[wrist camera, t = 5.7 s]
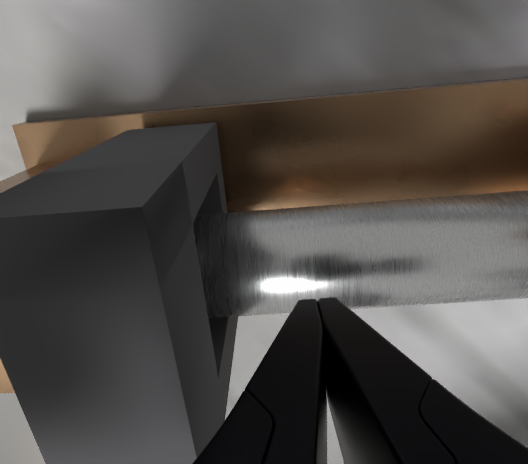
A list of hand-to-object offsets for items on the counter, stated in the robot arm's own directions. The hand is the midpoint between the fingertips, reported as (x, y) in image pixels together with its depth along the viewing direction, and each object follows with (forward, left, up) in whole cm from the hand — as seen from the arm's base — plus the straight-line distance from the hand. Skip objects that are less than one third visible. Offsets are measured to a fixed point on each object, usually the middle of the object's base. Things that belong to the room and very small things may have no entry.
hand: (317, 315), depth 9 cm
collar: (0, +4, -6) cm, 7 cm away
